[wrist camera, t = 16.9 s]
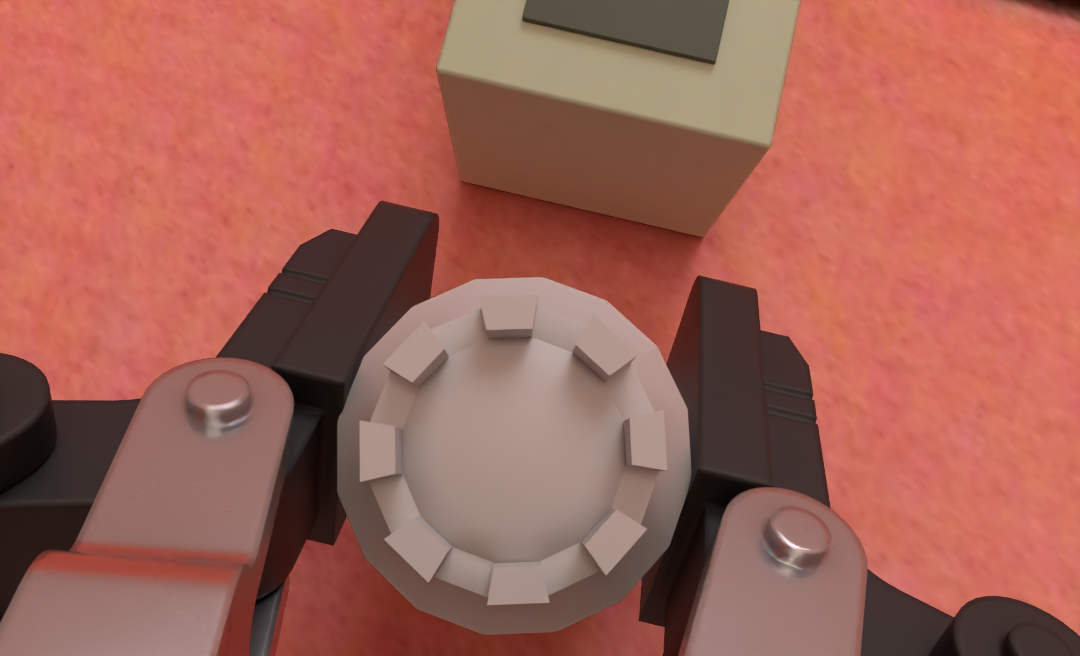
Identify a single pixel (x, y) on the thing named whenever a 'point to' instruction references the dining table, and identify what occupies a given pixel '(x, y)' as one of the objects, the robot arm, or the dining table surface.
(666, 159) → the block
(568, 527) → the rook chess piece
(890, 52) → the dining table surface
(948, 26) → the dining table surface
